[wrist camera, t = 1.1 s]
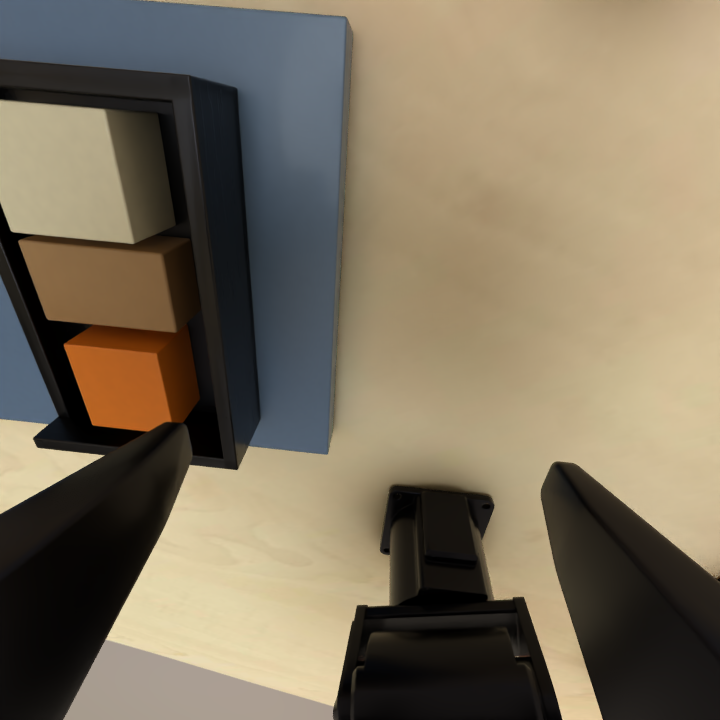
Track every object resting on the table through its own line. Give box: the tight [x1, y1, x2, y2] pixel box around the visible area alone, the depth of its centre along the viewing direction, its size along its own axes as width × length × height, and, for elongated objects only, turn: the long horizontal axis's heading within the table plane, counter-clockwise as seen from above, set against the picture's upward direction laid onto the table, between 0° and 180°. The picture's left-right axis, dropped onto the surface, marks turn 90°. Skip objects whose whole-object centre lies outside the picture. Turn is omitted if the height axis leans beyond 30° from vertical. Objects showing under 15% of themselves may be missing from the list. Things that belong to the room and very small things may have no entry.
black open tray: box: [0, 59, 261, 470], centre depth 15 cm, size 14×9×4 cm, turn 176°
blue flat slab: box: [0, 0, 353, 455], centre depth 17 cm, size 18×24×2 cm
